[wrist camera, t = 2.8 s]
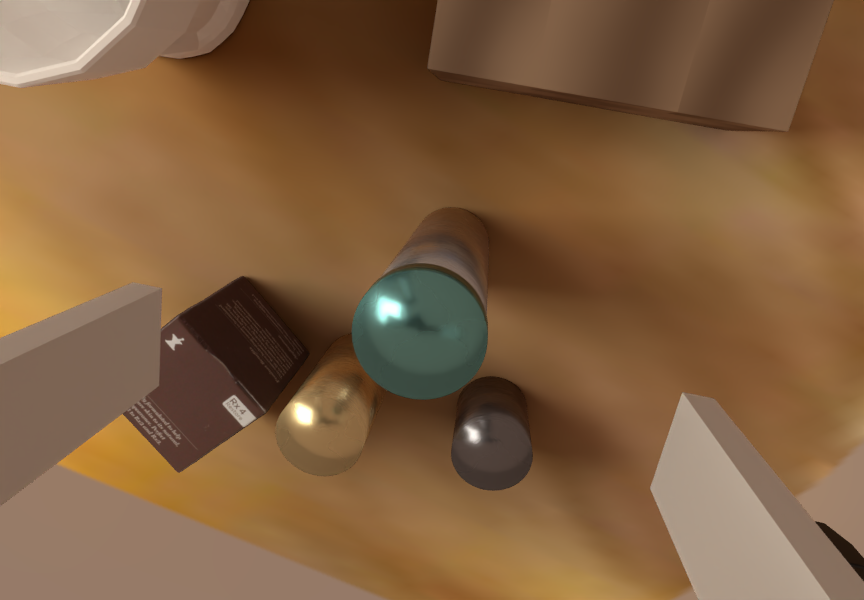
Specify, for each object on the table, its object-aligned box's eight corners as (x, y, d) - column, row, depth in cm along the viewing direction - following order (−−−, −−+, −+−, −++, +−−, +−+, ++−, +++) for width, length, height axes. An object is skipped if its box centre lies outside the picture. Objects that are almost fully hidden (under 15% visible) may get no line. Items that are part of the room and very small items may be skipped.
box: (172, 329, 34) (89, 382, 27) (245, 271, 32) (177, 312, 25) (240, 406, 35) (176, 477, 28) (314, 354, 33) (266, 415, 26)
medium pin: (321, 389, 34) (271, 466, 26) (329, 327, 33) (279, 388, 25) (387, 403, 34) (357, 484, 26) (398, 340, 32) (368, 406, 25)
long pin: (407, 274, 31) (343, 384, 18) (420, 199, 30) (361, 259, 17) (481, 288, 31) (473, 411, 18) (497, 214, 30) (499, 285, 16)
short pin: (451, 431, 34) (445, 481, 29) (464, 370, 32) (459, 412, 28) (518, 444, 34) (522, 497, 29) (533, 384, 32) (540, 428, 28)
